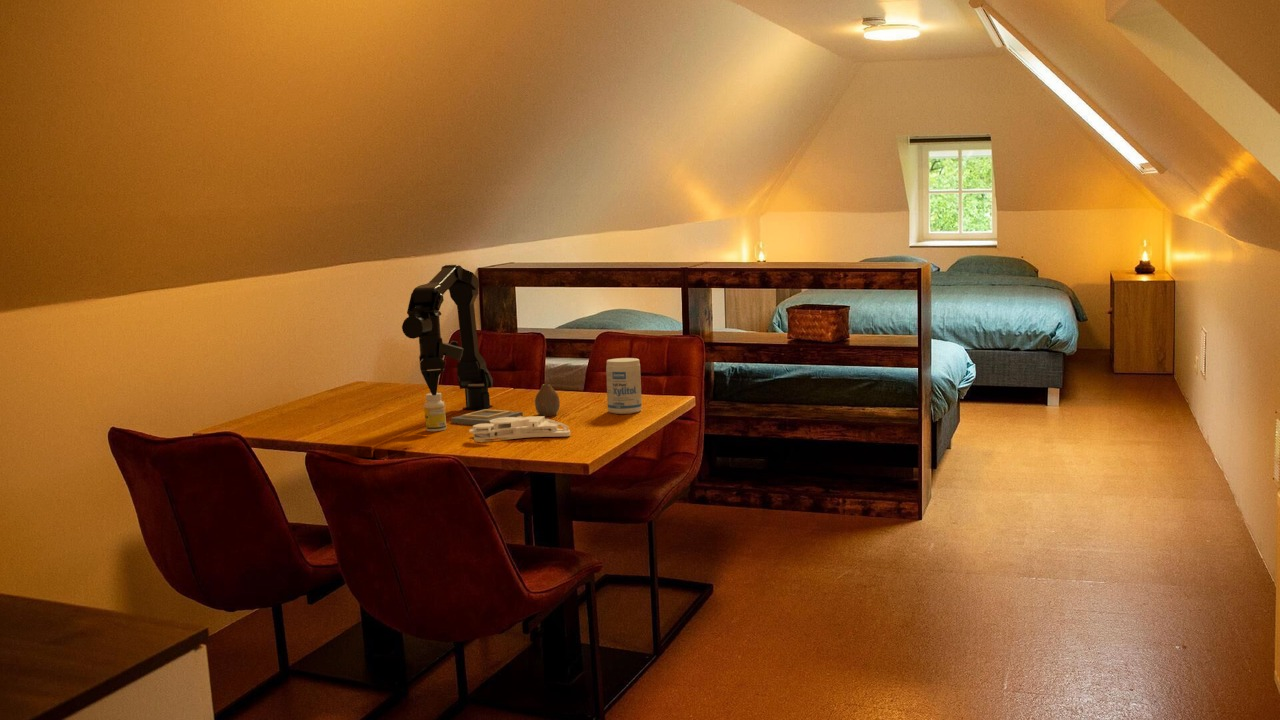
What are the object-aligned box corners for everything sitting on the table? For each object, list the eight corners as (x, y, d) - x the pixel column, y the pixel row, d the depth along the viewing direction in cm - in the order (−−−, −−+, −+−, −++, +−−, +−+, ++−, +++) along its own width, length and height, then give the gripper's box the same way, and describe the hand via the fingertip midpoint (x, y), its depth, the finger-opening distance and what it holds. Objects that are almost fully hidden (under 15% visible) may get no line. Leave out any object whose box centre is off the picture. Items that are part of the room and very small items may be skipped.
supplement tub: (614, 415, 305) (611, 362, 303) (603, 411, 314) (600, 359, 312) (647, 412, 308) (644, 359, 307) (635, 407, 317) (633, 356, 315)
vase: (556, 417, 307) (554, 386, 306) (532, 417, 308) (530, 386, 307) (563, 413, 314) (561, 382, 313) (539, 413, 315) (538, 382, 314)
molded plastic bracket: (562, 441, 275) (561, 423, 275) (466, 442, 280) (464, 425, 279) (582, 424, 298) (581, 408, 297) (492, 426, 302) (491, 409, 301)
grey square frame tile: (451, 423, 306) (450, 415, 305) (484, 414, 317) (484, 407, 317) (489, 426, 298) (489, 418, 298) (522, 417, 310) (522, 410, 309)
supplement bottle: (427, 428, 299) (424, 392, 298) (447, 427, 300) (444, 391, 298) (424, 432, 294) (422, 395, 293) (445, 431, 294) (443, 394, 293)
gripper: (462, 335, 286) (466, 395, 288) (458, 329, 304) (462, 385, 306) (418, 338, 284) (422, 398, 286) (417, 332, 302) (421, 388, 304)
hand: (433, 392), depth 296 cm, fingers open, 9 cm apart
